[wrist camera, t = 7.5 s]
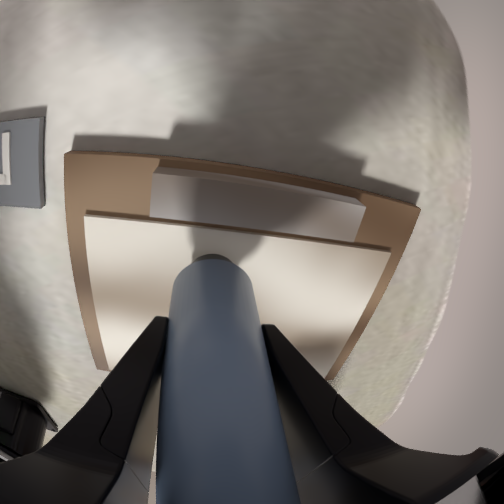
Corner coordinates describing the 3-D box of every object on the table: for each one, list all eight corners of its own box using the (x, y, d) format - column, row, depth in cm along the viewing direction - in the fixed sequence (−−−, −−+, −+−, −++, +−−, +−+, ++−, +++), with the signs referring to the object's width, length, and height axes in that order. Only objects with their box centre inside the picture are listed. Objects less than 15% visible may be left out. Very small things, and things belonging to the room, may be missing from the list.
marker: (244, 307, 13) (288, 550, 4) (171, 301, 12) (161, 556, 3) (258, 244, 11) (347, 548, 2) (175, 235, 10) (144, 567, 2)
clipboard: (330, 373, 19) (337, 390, 17) (98, 361, 15) (93, 381, 14) (414, 204, 12) (433, 217, 11) (70, 151, 9) (52, 159, 8)
